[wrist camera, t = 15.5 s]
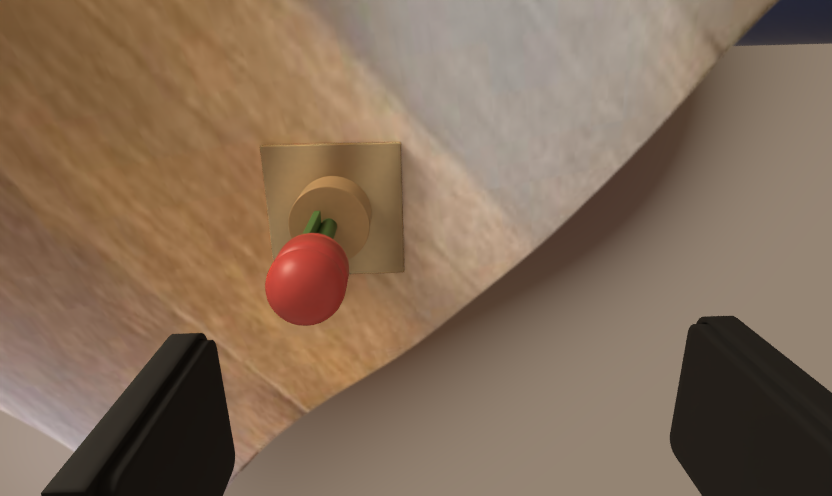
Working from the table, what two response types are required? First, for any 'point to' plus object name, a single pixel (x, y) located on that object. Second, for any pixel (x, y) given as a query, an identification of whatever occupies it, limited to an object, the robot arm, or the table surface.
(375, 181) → the coaster
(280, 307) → the tulip
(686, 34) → the table surface
